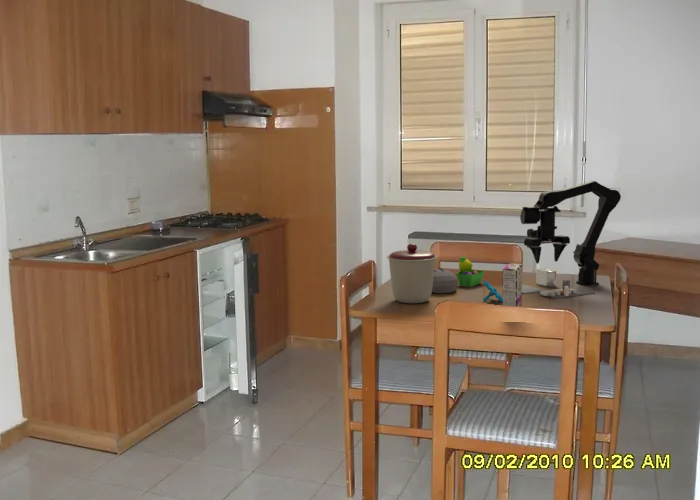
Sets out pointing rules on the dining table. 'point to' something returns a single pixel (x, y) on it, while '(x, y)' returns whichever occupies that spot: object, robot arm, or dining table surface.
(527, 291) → the pad
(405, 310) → the dining table surface
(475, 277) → the fruit basket
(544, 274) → the chain link
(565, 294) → the rail base
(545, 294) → the rack
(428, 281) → the canister
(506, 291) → the candy bar box
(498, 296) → the blue bumpy stand
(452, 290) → the soft grey pack
